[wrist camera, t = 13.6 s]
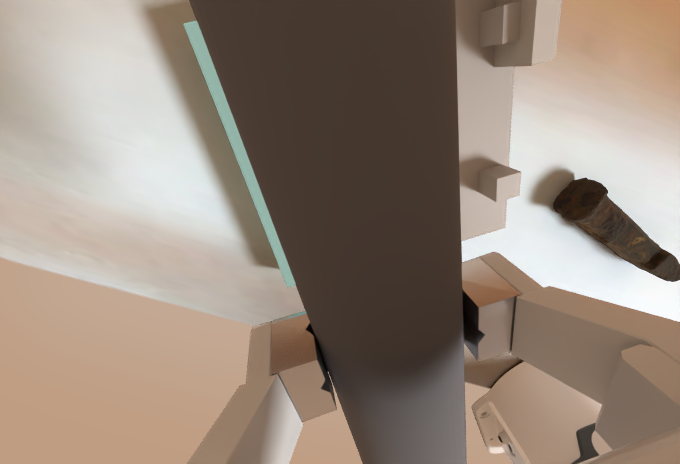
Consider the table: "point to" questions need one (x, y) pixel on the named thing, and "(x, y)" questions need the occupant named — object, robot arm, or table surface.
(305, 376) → the robot arm
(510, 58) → the cradle
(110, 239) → the table surface
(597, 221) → the hand tool
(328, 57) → the dark grey cylinder
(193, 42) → the tray
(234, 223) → the table surface
